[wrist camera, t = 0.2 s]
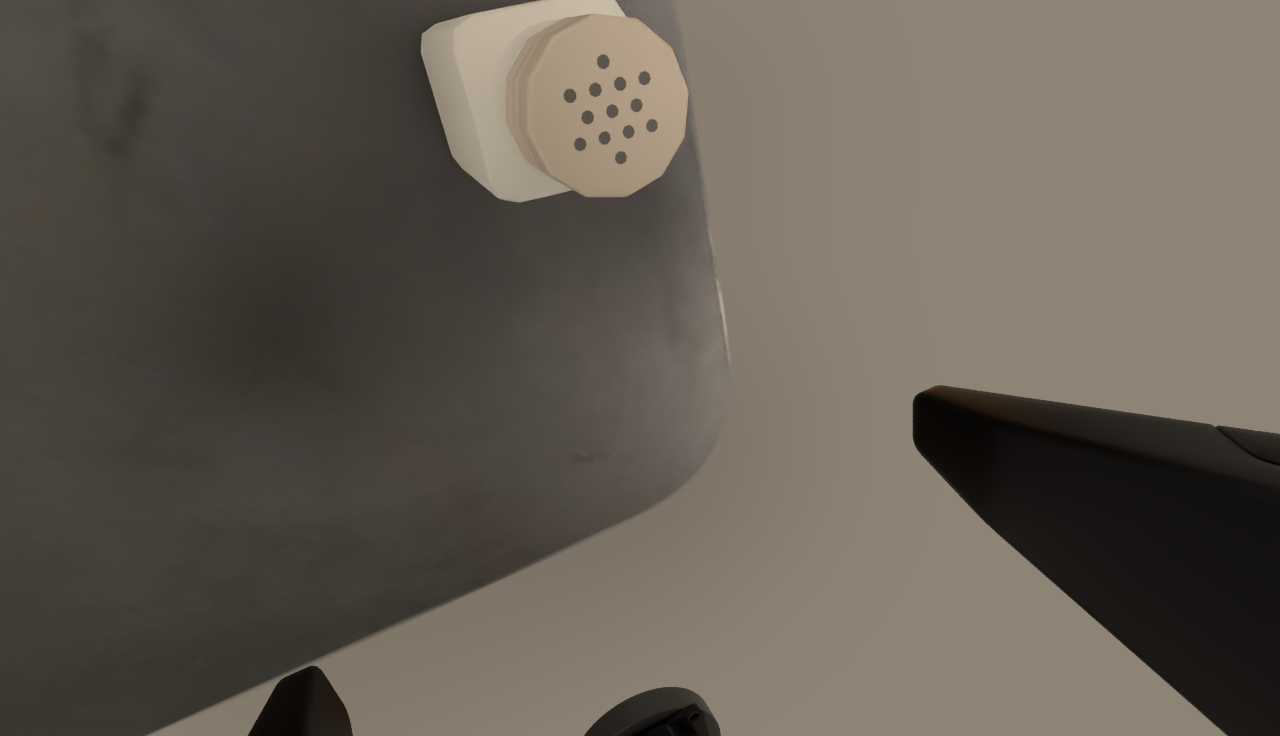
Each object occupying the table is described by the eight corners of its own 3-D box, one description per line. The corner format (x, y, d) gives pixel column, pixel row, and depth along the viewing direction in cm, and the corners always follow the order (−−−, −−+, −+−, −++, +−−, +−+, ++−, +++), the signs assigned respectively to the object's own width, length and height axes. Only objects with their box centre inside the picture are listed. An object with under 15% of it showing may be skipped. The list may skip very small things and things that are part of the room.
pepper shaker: (410, 28, 19) (474, 9, 11) (546, 2, 20) (694, -34, 12) (454, 172, 21) (535, 245, 13) (576, 141, 22) (720, 191, 14)
